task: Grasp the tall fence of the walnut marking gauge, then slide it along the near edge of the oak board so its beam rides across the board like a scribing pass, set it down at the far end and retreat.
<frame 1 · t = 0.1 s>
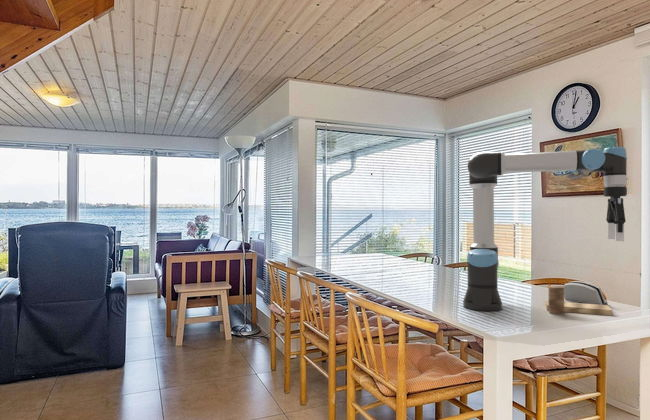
hand: (615, 240, 170), 28 cm above the table, tool pointing down, fingers open, 13 cm apart
gauge: (556, 312, 167), on the table
grey curved slab: (583, 302, 186), on the table
board: (577, 310, 170), on the table
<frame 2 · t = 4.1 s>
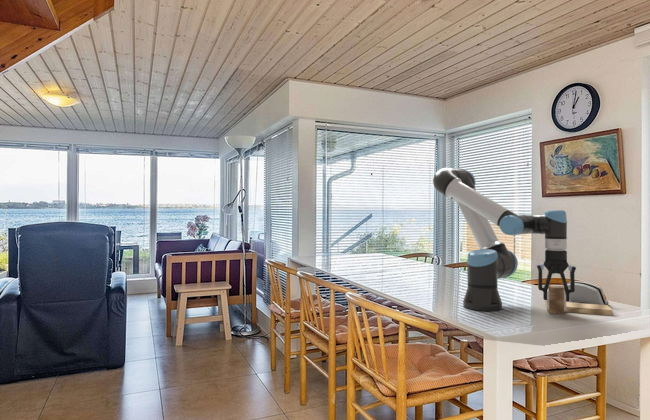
hand: (556, 309, 167), 1 cm above the table, tool pointing down, fingers closed on gauge, 5 cm apart
gauge: (556, 312, 167), on the table, touching gripper
everything else where it was.
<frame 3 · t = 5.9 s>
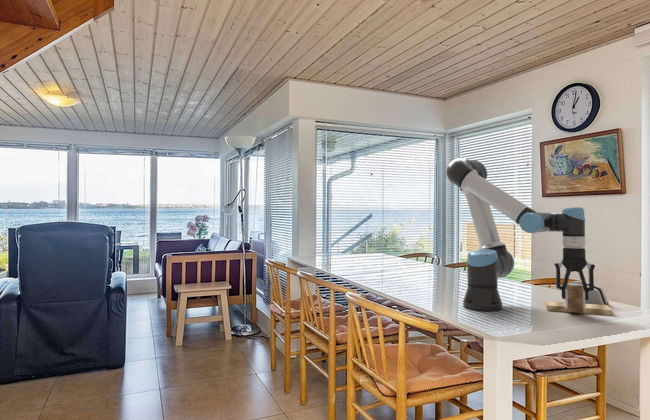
hand: (574, 307, 164), 2 cm above the table, tool pointing down, fingers closed on gauge, 5 cm apart
gauge: (575, 311, 164), point 1 cm above the table, touching gripper
everything else where it was.
when the fingers open (1 cm above the table, at t = 8.2 s): gauge stays where it is, on the table.
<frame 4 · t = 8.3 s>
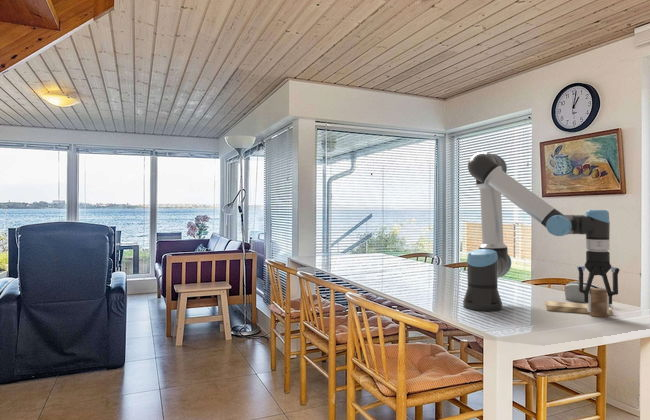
hand: (598, 312, 162), 1 cm above the table, tool pointing down, fingers open, 5 cm apart
gauge: (598, 315, 162), on the table
everything else where it was.
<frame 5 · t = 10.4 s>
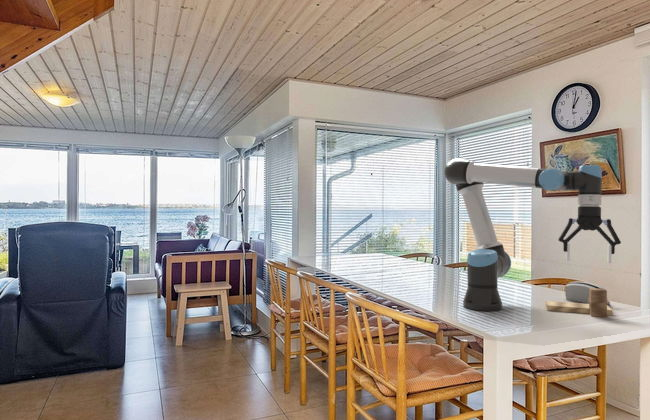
hand: (588, 261, 164), 20 cm above the table, tool pointing down, fingers open, 13 cm apart
gauge: (598, 315, 162), on the table
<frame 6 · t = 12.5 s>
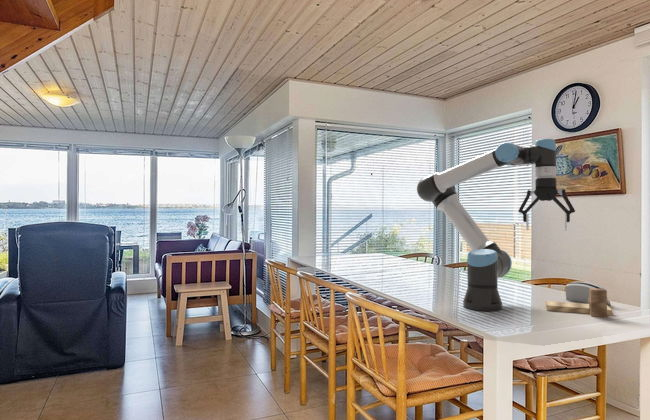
hand: (546, 230, 173), 32 cm above the table, tool pointing down, fingers open, 13 cm apart
at the end: gauge inside the target area (0.5 cm from its centre), on the table; gauge tilted 0°; the gripper is holding nothing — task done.
